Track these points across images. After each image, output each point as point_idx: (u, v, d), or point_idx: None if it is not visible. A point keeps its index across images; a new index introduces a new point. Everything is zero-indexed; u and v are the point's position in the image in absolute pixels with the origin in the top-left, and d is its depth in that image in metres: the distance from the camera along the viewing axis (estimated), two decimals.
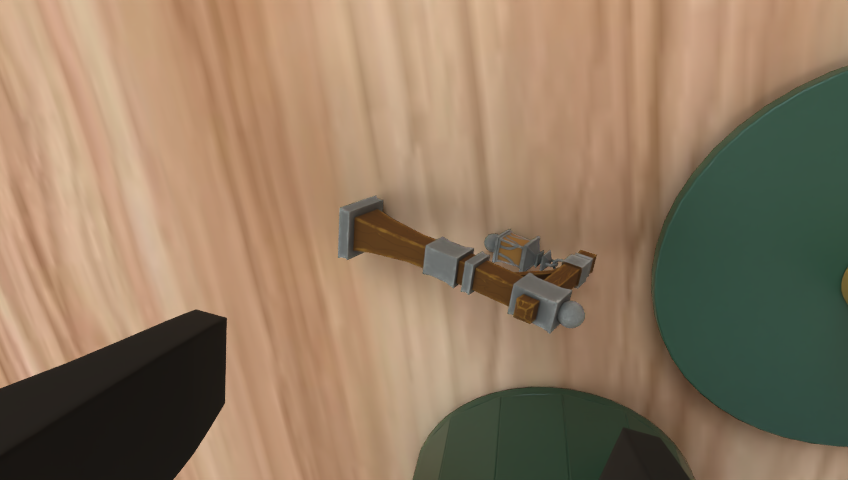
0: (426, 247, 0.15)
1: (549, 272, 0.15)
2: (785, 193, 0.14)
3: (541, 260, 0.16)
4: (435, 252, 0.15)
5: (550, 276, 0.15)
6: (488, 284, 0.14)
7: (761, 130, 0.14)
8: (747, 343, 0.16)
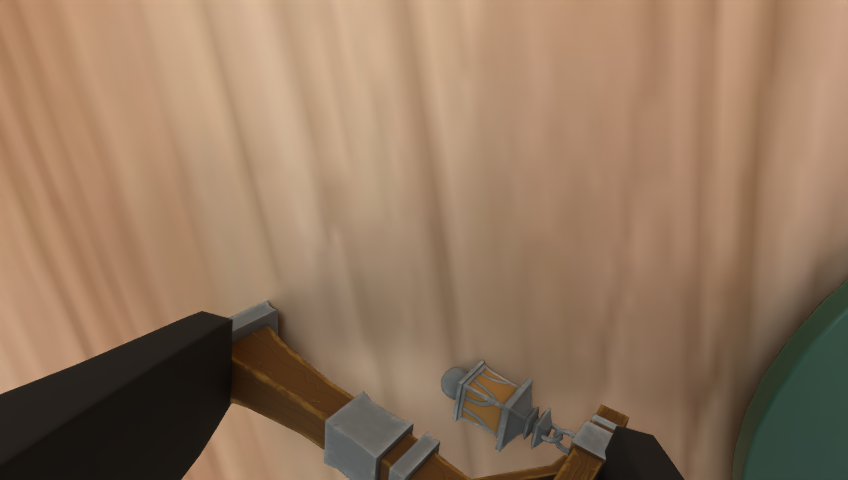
0: (327, 423, 0.08)
1: (548, 471, 0.08)
2: None
3: (534, 430, 0.09)
4: (341, 435, 0.08)
5: None
6: None
7: None
8: None
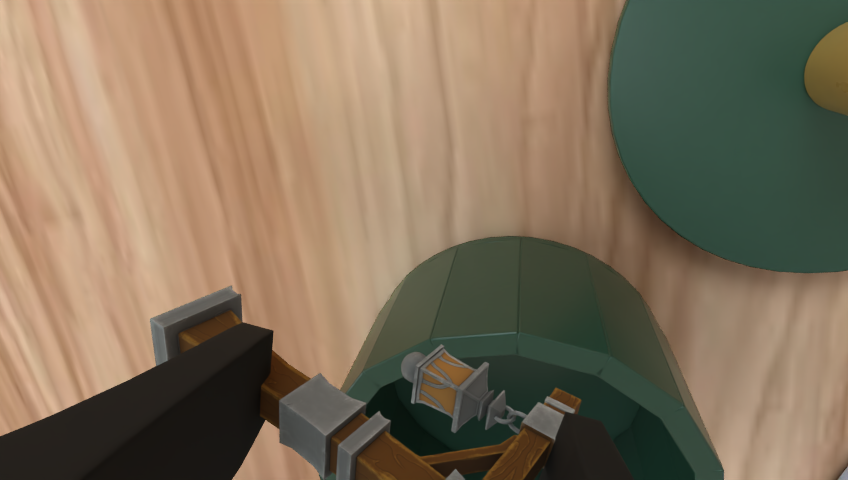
0: (281, 403, 0.09)
1: (496, 448, 0.09)
2: None
3: (488, 411, 0.09)
4: (294, 414, 0.08)
5: (495, 468, 0.08)
6: None
7: None
8: (709, 155, 0.15)
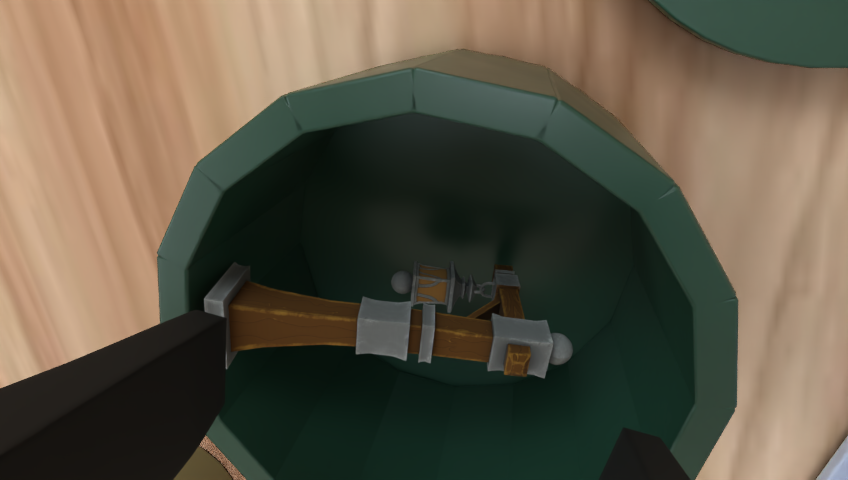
0: (358, 319, 0.11)
1: (494, 302, 0.13)
2: None
3: (469, 289, 0.14)
4: (373, 323, 0.11)
5: (505, 308, 0.12)
6: (455, 343, 0.11)
7: None
8: None
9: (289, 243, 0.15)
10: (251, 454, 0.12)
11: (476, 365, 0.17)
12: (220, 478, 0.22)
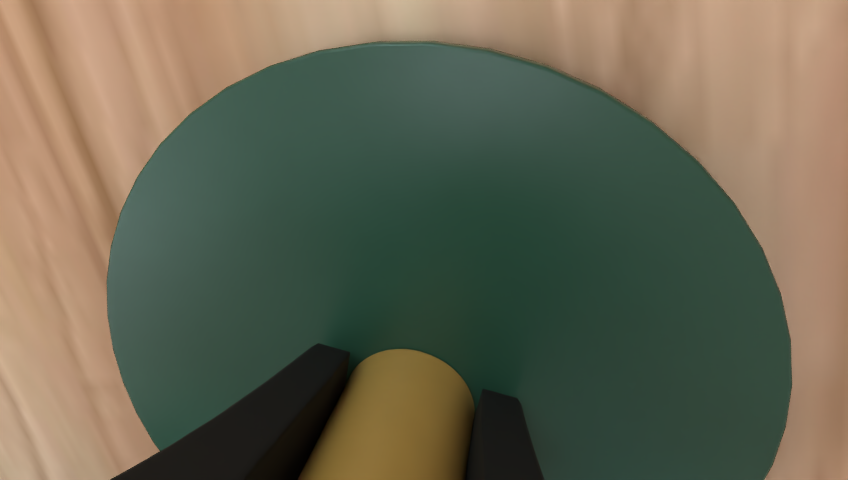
0: None
1: None
2: (228, 273, 0.09)
3: None
4: None
5: None
6: None
7: (158, 177, 0.09)
8: None
9: None
10: None
11: None
12: None
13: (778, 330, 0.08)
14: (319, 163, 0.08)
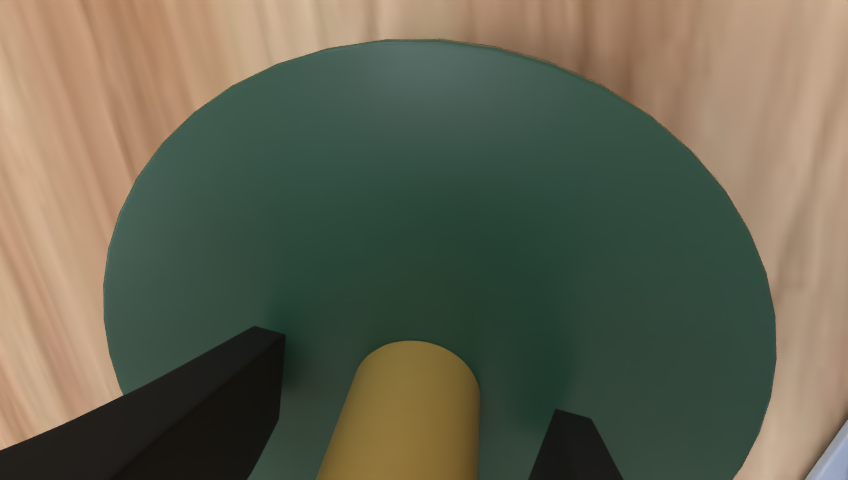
0: None
1: None
2: (233, 272, 0.09)
3: None
4: None
5: None
6: None
7: (160, 177, 0.08)
8: (275, 475, 0.11)
9: None
10: None
11: None
12: None
13: (764, 307, 0.08)
14: (327, 160, 0.08)
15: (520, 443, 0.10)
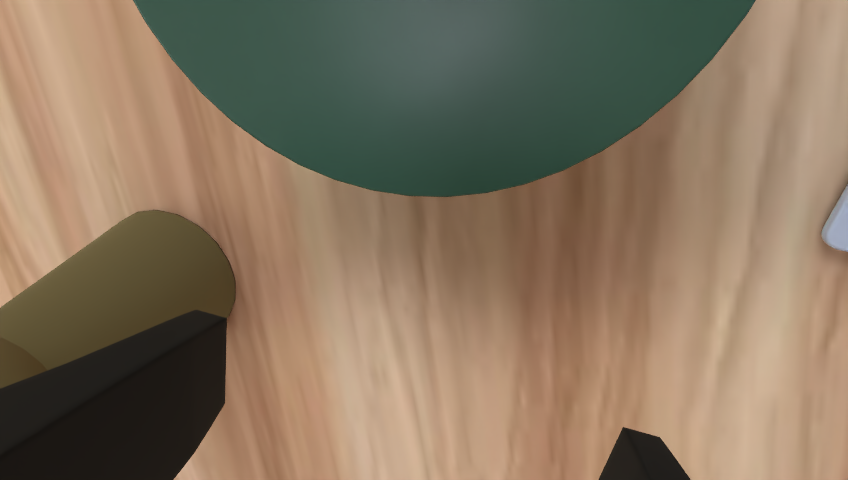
0: None
1: None
2: None
3: None
4: None
5: None
6: None
7: None
8: (263, 8, 0.10)
9: None
10: None
11: None
12: (216, 256, 0.21)
13: None
14: None
15: None
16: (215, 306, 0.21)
